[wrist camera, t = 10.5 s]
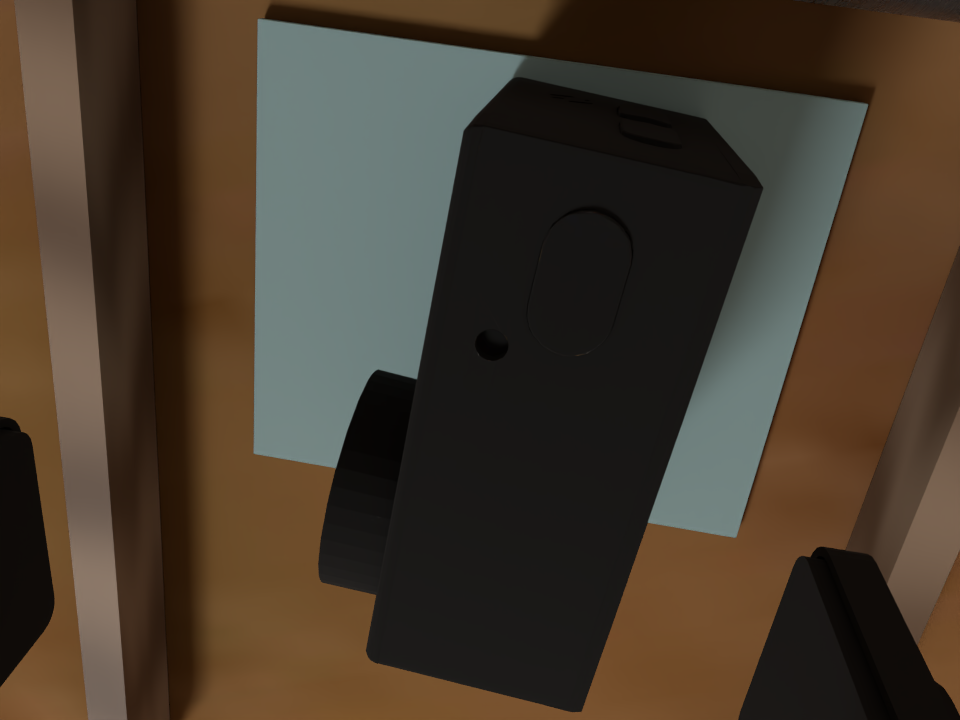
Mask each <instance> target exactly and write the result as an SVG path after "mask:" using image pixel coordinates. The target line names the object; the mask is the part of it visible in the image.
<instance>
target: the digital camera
mask: <svg viewBox="0 0 960 720" xmlns="http://www.w3.org/2000/svg"><path fill="white" fill-rule="evenodd" d="M762 191H763V186H762V185H761V183H760V181H759V180H758V178H757V177H756V175H755V174H754V173H753V172H752V171H751V170H750V168H749V167H748V166H747V165H746V164H745V163H744V162H743V160H742V159H741V158H740V157H739V156H738V155H737V154H736V152H735V151H734V150H733V149H732V148H731V147H730V146H729V144H728V143H727V142H726V141H725V140H724V139H723V138H722V136H721V135H720V134H719V133H718V132H717V131H716V130H715V128H714V127H713V126H712V125H711V124H710V123H709V122H708V120H707V119H704V118H700V117H696V116H692V115H687V114H683V113H679V112H674V111H670V110H665V109H661V108H656V107H652V106H648V105H643V104H639V103H634V102H630V101H625V100H621V99H617V98H612V97H608V96H603V95H599V94H594V93H590V92H585V91H581V90H577V89H572V88H568V87H563V86H559V85H554V84H550V83H546V82H541V81H537V80H532V79H528V78H523V77H515V78H513V79H511V80H510V81H509V82H508V83H507V84H506V85H505V86H504V87H503V88H502V89H501V90H500V91H499V92H498V93H497V94H496V95H495V96H494V98H493V99H492V100H491V101H490V102H489V103H488V104H487V105H486V106H485V107H484V108H483V109H482V110H481V111H480V112H479V113H478V114H477V115H476V116H475V117H474V119H473V120H472V121H471V122H470V123H469V125H468V126H467V127H466V128H465V129H464V131H463V136H462V142H461V147H460V152H459V158H458V163H457V168H456V174H455V179H454V184H453V190H452V195H451V200H450V206H449V211H448V216H447V222H446V227H445V232H444V238H443V243H442V248H441V254H440V259H439V264H438V270H437V275H436V280H435V286H434V291H433V296H432V302H431V307H430V312H429V318H428V323H427V328H426V334H425V339H424V344H423V350H422V355H421V360H420V366H419V371H418V376H417V379H414V378H410V377H406V376H402V375H398V374H394V373H390V372H386V371H383V370H379V369H378V370H376V371H375V372H374V373H372V375H371V376H370V378H369V379H368V381H367V383H366V385H365V387H364V390H363V392H362V394H361V396H360V398H359V400H358V403H357V405H356V408H355V411H354V414H353V416H352V419H351V422H350V424H349V427H348V430H347V433H346V436H345V440H344V443H343V446H342V450H341V453H340V456H339V460H338V463H337V466H336V470H335V474H334V478H333V482H332V486H331V491H330V495H329V499H328V503H327V508H326V514H325V519H324V525H323V530H322V536H321V543H320V553H319V563H318V566H319V577H320V580H321V582H323V583H327V584H331V585H336V586H340V587H344V588H349V589H353V590H358V591H362V592H366V593H371V594H375V595H376V600H375V605H374V611H373V616H372V621H371V627H370V632H369V637H368V643H367V648H366V652H367V655H368V658H369V659H370V660H371V661H373V662H375V663H377V664H378V663H379V664H383V665H387V666H391V667H395V668H399V669H403V670H407V671H411V672H415V673H419V674H423V675H427V676H431V677H435V678H439V679H443V680H447V681H451V682H455V683H459V684H463V685H467V686H471V687H475V688H479V689H483V690H487V691H491V692H495V693H499V694H503V695H507V696H511V697H515V698H519V699H523V700H527V701H531V702H535V703H539V704H543V705H547V706H550V707H554V708H558V709H561V710H565V711H570V712H581V711H582V708H583V706H584V703H585V700H586V697H587V694H588V692H589V689H590V686H591V683H592V680H593V677H594V675H595V672H596V669H597V666H598V663H599V660H600V658H601V655H602V652H603V649H604V646H605V643H606V641H607V638H608V635H609V632H610V629H611V627H612V624H613V621H614V618H615V615H616V612H617V609H618V606H619V604H620V601H621V598H622V595H623V592H624V589H625V586H626V583H627V581H628V578H629V575H630V572H631V569H632V566H633V563H634V561H635V558H636V555H637V552H638V549H639V546H640V543H641V540H642V538H643V535H644V532H645V529H646V526H647V523H648V520H649V517H650V515H651V512H652V509H653V506H654V503H655V500H656V497H657V495H658V492H659V489H660V486H661V483H662V480H663V477H664V474H665V472H666V469H667V466H668V463H669V460H670V457H671V454H672V452H673V449H674V446H675V443H676V440H677V437H678V434H679V431H680V429H681V426H682V423H683V420H684V417H685V414H686V411H687V408H688V406H689V403H690V400H691V397H692V394H693V391H694V388H695V385H696V382H697V379H698V377H699V374H700V371H701V368H702V365H703V362H704V359H705V356H706V353H707V351H708V348H709V345H710V342H711V339H712V336H713V333H714V330H715V327H716V324H717V322H718V319H719V316H720V313H721V310H722V307H723V304H724V301H725V298H726V295H727V293H728V290H729V287H730V284H731V281H732V278H733V275H734V272H735V269H736V267H737V264H738V261H739V258H740V255H741V252H742V249H743V246H744V243H745V240H746V238H747V235H748V232H749V229H750V226H751V223H752V220H753V217H754V214H755V212H756V209H757V206H758V203H759V200H760V197H761V194H762Z"/></svg>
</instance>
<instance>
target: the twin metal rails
mask: <svg viewBox="0 0 960 720" xmlns="http://www.w3.org/2000/svg"><path fill="white" fill-rule="evenodd" d="M14 3H15V12H16V22H17V32H18V42H19V51H20V61H21V71H22V80H23V90H24V100H25V109H26V119H27V129H28V139H29V148H30V158H31V168H32V177H33V187H34V197H35V206H36V216H37V226H38V236H39V245H40V255H41V265H42V274H43V284H44V294H45V303H46V313H47V323H48V333H49V342H50V352H51V362H52V371H53V381H54V391H55V400H56V410H57V420H58V430H59V439H60V449H61V459H62V468H63V478H64V488H65V497H66V507H67V517H68V527H69V536H70V546H71V556H72V565H73V575H74V585H75V594H76V604H77V614H78V624H79V633H80V643H81V653H82V662H83V672H84V682H85V691H86V701H87V711H88V720H170V713H169V692H168V670H167V649H166V628H165V606H164V585H163V564H162V542H161V521H160V500H159V478H158V457H157V436H156V414H155V393H154V372H153V350H152V329H151V308H150V286H149V265H148V244H147V222H146V201H145V180H144V158H143V137H142V116H141V94H140V73H139V52H138V30H137V9H136V0H14ZM959 550H960V247H959V250H958V252H957V255H956V258H955V260H954V263H953V266H952V268H951V271H950V274H949V276H948V279H947V282H946V284H945V287H944V290H943V292H942V295H941V298H940V300H939V303H938V306H937V308H936V311H935V314H934V316H933V319H932V322H931V324H930V327H929V330H928V332H927V335H926V338H925V340H924V343H923V346H922V348H921V351H920V354H919V356H918V359H917V362H916V364H915V367H914V370H913V372H912V375H911V378H910V380H909V383H908V386H907V388H906V391H905V394H904V396H903V399H902V401H901V404H900V407H899V409H898V412H897V415H896V417H895V420H894V423H893V425H892V428H891V431H890V433H889V436H888V439H887V441H886V444H885V447H884V449H883V452H882V455H881V457H880V460H879V463H878V465H877V468H876V471H875V473H874V476H873V479H872V481H871V484H870V487H869V489H868V492H867V495H866V497H865V500H864V503H863V505H862V508H861V511H860V513H859V516H858V519H857V521H856V524H855V527H854V529H853V532H852V535H851V537H850V540H849V543H848V545H847V548H846V551H853V552H859V553H865V554H869V555H870V556H872V557H873V558H874V560H875V561H876V563H877V565H878V567H879V569H880V571H881V573H882V575H883V577H884V579H885V581H886V583H887V585H888V587H889V589H890V591H891V593H892V595H893V597H894V600H895V602H896V604H897V606H898V608H899V610H900V612H901V614H902V616H903V618H904V620H905V622H906V624H907V626H908V628H909V630H910V632H911V634H912V636H913V638H914V640H915V642H916V644H918V642H919V640H920V638H921V635H922V633H923V631H924V629H925V626H926V624H927V622H928V620H929V617H930V615H931V613H932V611H933V608H934V606H935V604H936V602H937V599H938V597H939V595H940V593H941V591H942V588H943V586H944V584H945V582H946V579H947V577H948V575H949V573H950V570H951V568H952V566H953V564H954V561H955V559H956V557H957V555H958V552H959Z"/></svg>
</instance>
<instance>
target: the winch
mask: <svg viewBox="0 0 960 720" xmlns="http://www.w3.org/2000/svg"><path fill="white" fill-rule="evenodd" d="M795 1H802V2H810V3H817V4H825V5H832V6H840V7H847V8H855V9H862V10H870V11H877V12H885V13H892V14H900V15H907V16H915V17H922V18H930V19H937V20H945V21H952V22H960V0H795Z"/></svg>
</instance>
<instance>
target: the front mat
mask: <svg viewBox="0 0 960 720" xmlns="http://www.w3.org/2000/svg"><path fill="white" fill-rule="evenodd" d="M515 77H523V78H528V79H532V80H537V81H541V82H546V83H550V84H554V85H559V86H563V87H568V88H572V89H577V90H581V91H585V92H590V93H594V94H599V95H603V96H608V97H612V98H617V99H621V100H625V101H630V102H634V103H639V104H643V105H648V106H652V107H656V108H661V109H665V110H670V111H674V112H679V113H683V114H687V115H692V116H696V117H700V118H704V119H707V120H708V122H709V123H710V124H711V125H712V126H713V127H714V128H715V130H716V131H717V132H718V133H719V134H720V135H721V136H722V138H723V139H724V140H725V141H726V142H727V143H728V144H729V146H730V147H731V148H732V149H733V150H734V151H735V152H736V154H737V155H738V156H739V157H740V158H741V159H742V160H743V162H744V163H745V164H746V165H747V166H748V167H749V168H750V170H751V171H752V172H753V173H754V174H755V175H756V177H757V178H758V180H759V181H760V183H761V185H762V186H763V191H762V194H761V197H760V200H759V203H758V206H757V209H756V212H755V214H754V217H753V220H752V223H751V226H750V229H749V232H748V235H747V238H746V240H745V243H744V246H743V249H742V252H741V255H740V258H739V261H738V264H737V267H736V269H735V272H734V275H733V278H732V281H731V284H730V287H729V290H728V293H727V295H726V298H725V301H724V304H723V307H722V310H721V313H720V316H719V319H718V322H717V324H716V327H715V330H714V333H713V336H712V339H711V342H710V345H709V348H708V351H707V353H706V356H705V359H704V362H703V365H702V368H701V371H700V374H699V377H698V379H697V382H696V385H695V388H694V391H693V394H692V397H691V400H690V403H689V406H688V408H687V411H686V414H685V417H684V420H683V423H682V426H681V429H680V431H679V434H678V437H677V440H676V443H675V446H674V449H673V452H672V454H671V457H670V460H669V463H668V466H667V469H666V472H665V474H664V477H663V480H662V483H661V486H660V489H659V492H658V495H657V497H656V500H655V503H654V506H653V509H652V512H651V515H650V517H649V520H648V523H654V524H659V525H665V526H671V527H677V528H682V529H688V530H694V531H699V532H705V533H711V534H717V535H722V536H728V537H734V538H736V536H737V533H738V530H739V526H740V523H741V520H742V517H743V513H744V510H745V507H746V504H747V500H748V497H749V494H750V490H751V487H752V484H753V481H754V477H755V474H756V471H757V468H758V464H759V461H760V458H761V454H762V451H763V448H764V445H765V441H766V438H767V435H768V432H769V428H770V425H771V422H772V418H773V415H774V412H775V409H776V405H777V402H778V399H779V396H780V392H781V389H782V386H783V382H784V379H785V376H786V373H787V369H788V366H789V363H790V360H791V356H792V353H793V350H794V346H795V343H796V340H797V337H798V333H799V330H800V327H801V324H802V320H803V317H804V314H805V310H806V307H807V304H808V301H809V297H810V294H811V291H812V288H813V284H814V281H815V278H816V274H817V271H818V268H819V265H820V261H821V258H822V255H823V252H824V248H825V245H826V242H827V238H828V235H829V232H830V229H831V225H832V222H833V219H834V216H835V212H836V209H837V206H838V202H839V199H840V196H841V193H842V189H843V186H844V183H845V180H846V176H847V173H848V170H849V166H850V163H851V160H852V157H853V153H854V150H855V147H856V144H857V140H858V137H859V134H860V130H861V127H862V124H863V121H864V117H865V114H866V111H867V108H868V104H866V103H864V102H857V101H850V100H842V99H835V98H828V97H821V96H814V95H807V94H800V93H792V92H785V91H778V90H771V89H764V88H757V87H750V86H743V85H735V84H728V83H721V82H714V81H707V80H700V79H693V78H685V77H678V76H671V75H664V74H657V73H650V72H643V71H635V70H628V69H621V68H614V67H607V66H600V65H593V64H585V63H578V62H571V61H564V60H557V59H550V58H543V57H535V56H528V55H521V54H514V53H507V52H500V51H493V50H485V49H478V48H471V47H464V46H457V45H450V44H443V43H436V42H428V41H421V40H414V39H407V38H400V37H393V36H386V35H378V34H371V33H364V32H357V31H350V30H343V29H336V28H328V27H321V26H314V25H307V24H300V23H293V22H286V21H278V20H271V19H264V18H261V19H258V57H257V164H256V271H255V378H254V454H259V455H264V456H270V457H276V458H282V459H287V460H293V461H299V462H304V463H310V464H316V465H322V466H327V467H333V468H336V466H337V463H338V460H339V456H340V453H341V450H342V446H343V443H344V440H345V436H346V433H347V430H348V427H349V424H350V422H351V419H352V416H353V414H354V411H355V408H356V405H357V403H358V400H359V398H360V396H361V394H362V392H363V390H364V387H365V385H366V383H367V381H368V379H369V378H370V376H371V375H372V373H374V372H375V371H376V370H378V369H379V370H383V371H386V372H390V373H394V374H398V375H402V376H406V377H410V378H414V379H417V376H418V371H419V366H420V360H421V355H422V350H423V344H424V339H425V334H426V328H427V323H428V318H429V312H430V307H431V302H432V296H433V291H434V286H435V280H436V275H437V270H438V264H439V259H440V254H441V248H442V243H443V238H444V232H445V227H446V222H447V216H448V211H449V206H450V200H451V195H452V190H453V184H454V179H455V174H456V168H457V163H458V158H459V152H460V147H461V142H462V136H463V131H464V129H465V128H466V127H467V126H468V125H469V123H470V122H471V121H472V120H473V119H474V117H475V116H476V115H477V114H478V113H479V112H480V111H481V110H482V109H483V108H484V107H485V106H486V105H487V104H488V103H489V102H490V101H491V100H492V99H493V98H494V96H495V95H496V94H497V93H498V92H499V91H500V90H501V89H502V88H503V87H504V86H505V85H506V84H507V83H508V82H509V81H510V80H511V79H513V78H515Z"/></svg>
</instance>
